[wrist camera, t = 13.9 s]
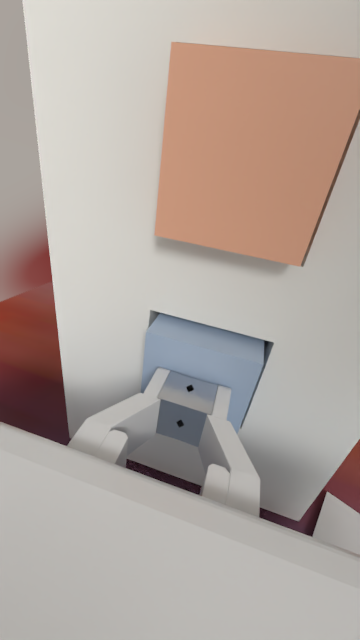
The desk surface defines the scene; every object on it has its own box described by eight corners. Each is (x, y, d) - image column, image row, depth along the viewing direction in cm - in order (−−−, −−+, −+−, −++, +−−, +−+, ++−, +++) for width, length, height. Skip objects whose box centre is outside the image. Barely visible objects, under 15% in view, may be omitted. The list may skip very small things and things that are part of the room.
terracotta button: (192, 212, 13) (210, 91, 11) (289, 232, 12) (331, 106, 10) (154, 235, 9) (171, 41, 6) (300, 266, 8) (377, 60, 6)
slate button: (171, 350, 17) (181, 284, 15) (243, 371, 16) (265, 304, 14) (139, 411, 13) (146, 331, 10) (233, 443, 12) (263, 364, 10)
